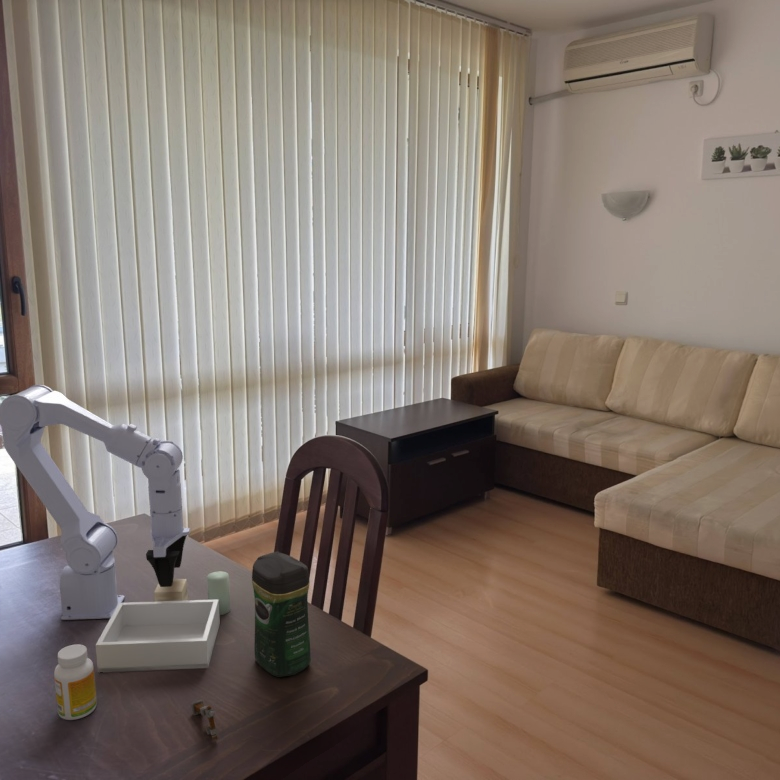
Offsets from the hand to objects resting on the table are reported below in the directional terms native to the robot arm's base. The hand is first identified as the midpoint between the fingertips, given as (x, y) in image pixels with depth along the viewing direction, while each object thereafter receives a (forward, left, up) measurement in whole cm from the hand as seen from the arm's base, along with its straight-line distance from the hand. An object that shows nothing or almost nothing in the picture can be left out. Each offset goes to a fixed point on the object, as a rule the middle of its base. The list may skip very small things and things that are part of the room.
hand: (170, 576), depth 136 cm
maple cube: (0, 0, -7) cm, 7 cm away
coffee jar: (+22, -19, -7) cm, 30 cm away
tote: (+1, -13, -7) cm, 15 cm away
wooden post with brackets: (+12, -34, -7) cm, 37 cm away
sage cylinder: (+9, -1, -7) cm, 11 cm away
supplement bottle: (-8, -29, -7) cm, 31 cm away
